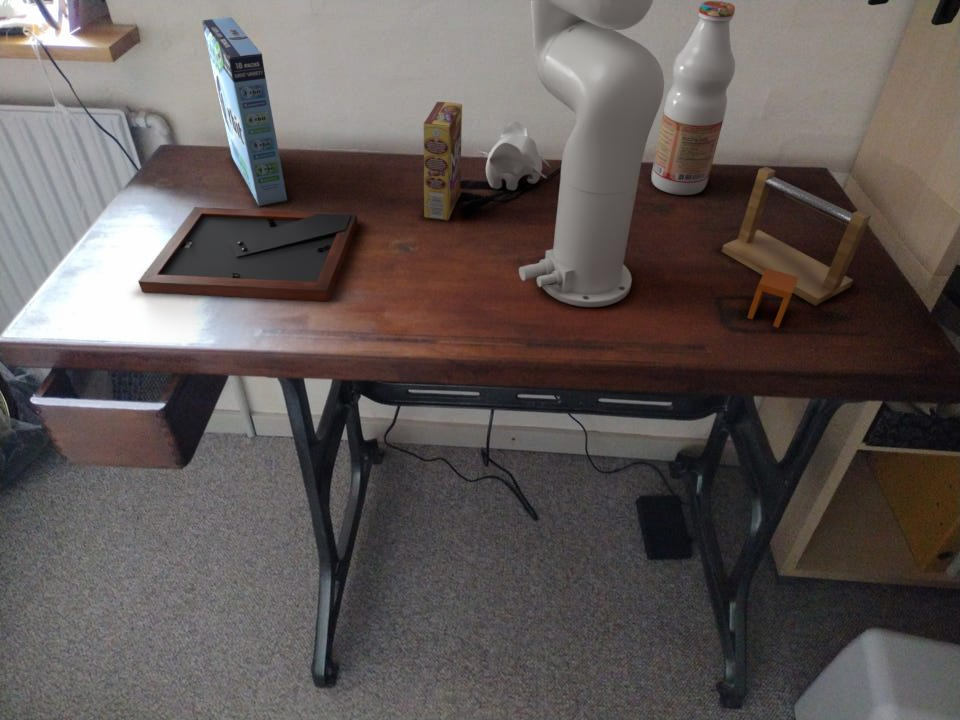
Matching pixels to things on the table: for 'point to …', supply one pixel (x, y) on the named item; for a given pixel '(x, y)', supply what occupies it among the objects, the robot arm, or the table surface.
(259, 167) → the gum box
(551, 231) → the table surface
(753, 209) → the rail stand
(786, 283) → the clip
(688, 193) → the fruit juice
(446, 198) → the candy box
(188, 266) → the picture frame
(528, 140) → the elephant figurine
